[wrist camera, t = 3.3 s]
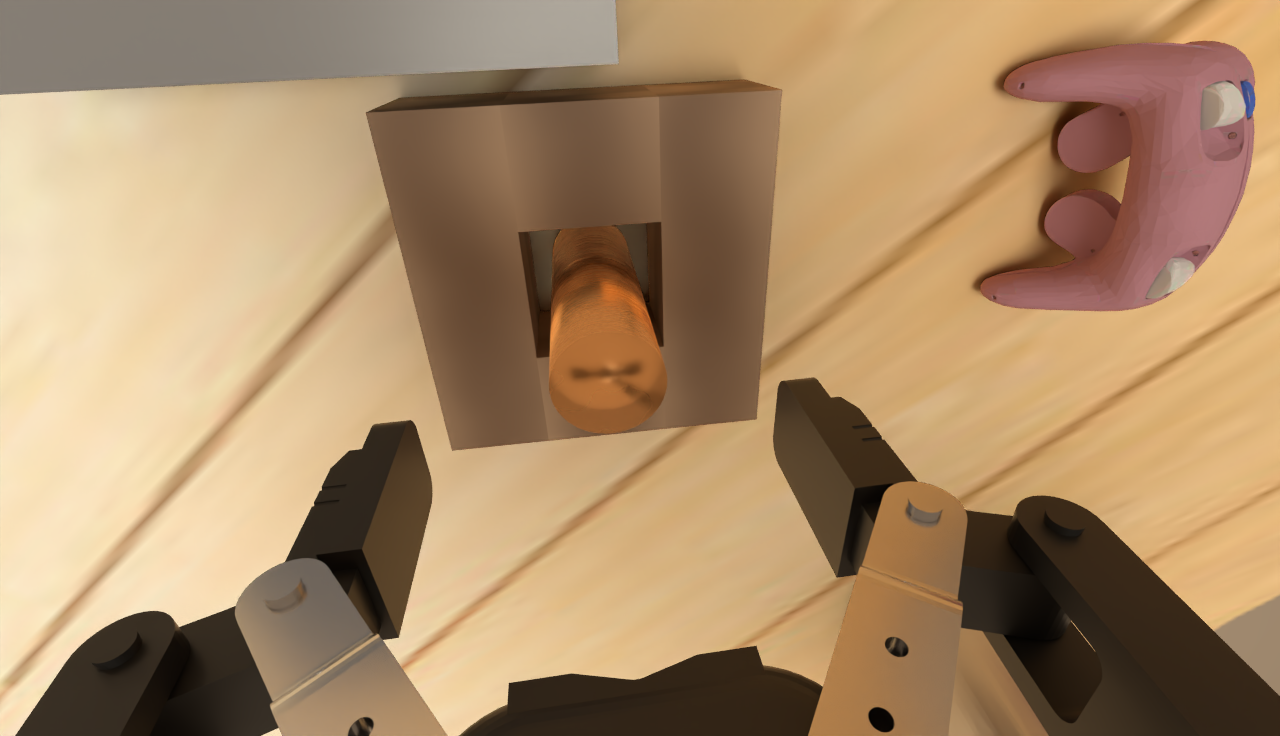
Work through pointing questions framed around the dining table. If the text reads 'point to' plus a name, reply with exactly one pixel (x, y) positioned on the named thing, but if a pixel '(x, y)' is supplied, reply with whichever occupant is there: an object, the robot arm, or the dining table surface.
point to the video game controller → (1139, 170)
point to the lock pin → (601, 335)
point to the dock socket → (288, 40)
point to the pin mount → (575, 198)
